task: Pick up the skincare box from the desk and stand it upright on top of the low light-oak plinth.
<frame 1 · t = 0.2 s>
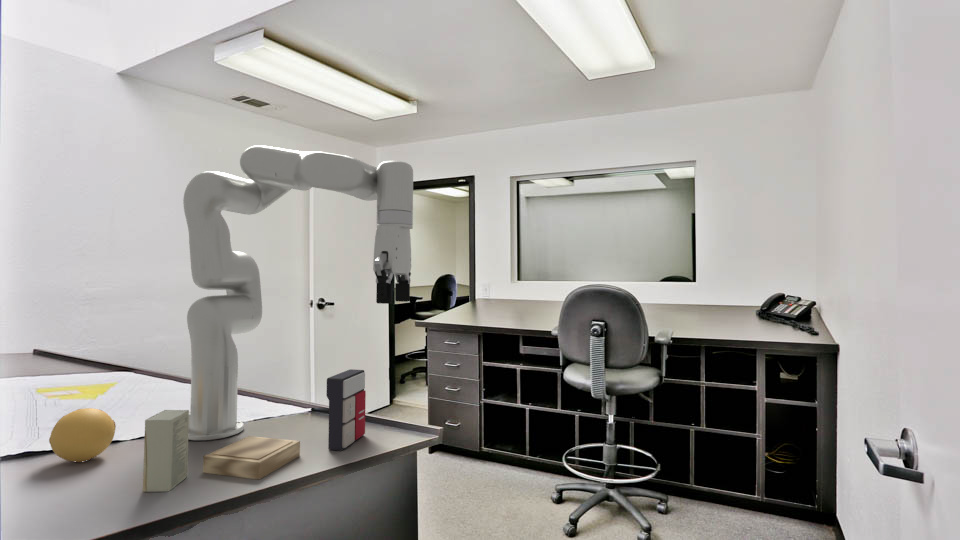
hand: (393, 302, 102), 31 cm above the table, tool pointing down, fingers open, 9 cm apart
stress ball: (83, 461, 95), on the table
skincare box: (166, 486, 84), on the table
oak plinth: (253, 463, 94), on the table
grey red panelled box: (347, 443, 107), on the table
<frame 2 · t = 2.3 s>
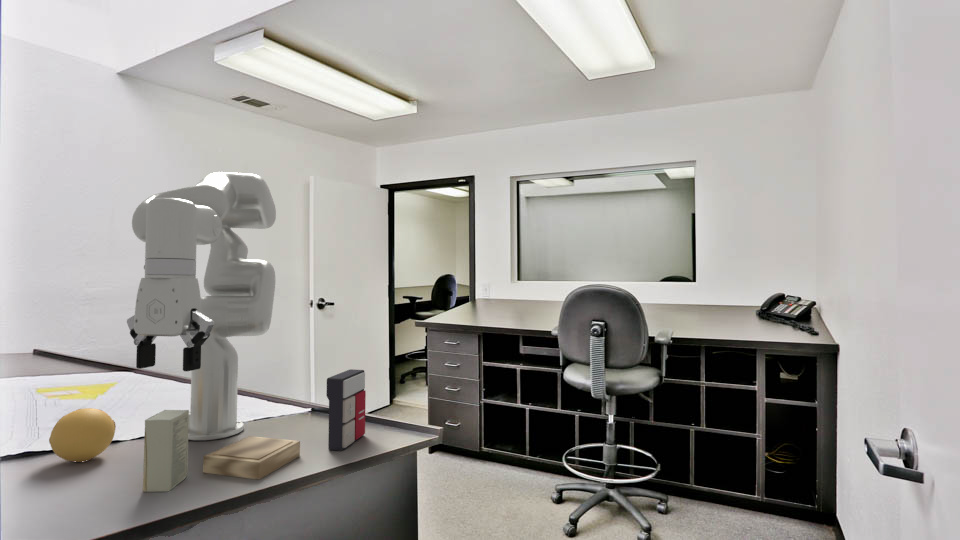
hand: (168, 368, 84), 20 cm above the table, tool pointing down, fingers open, 9 cm apart
nothing on the table moved.
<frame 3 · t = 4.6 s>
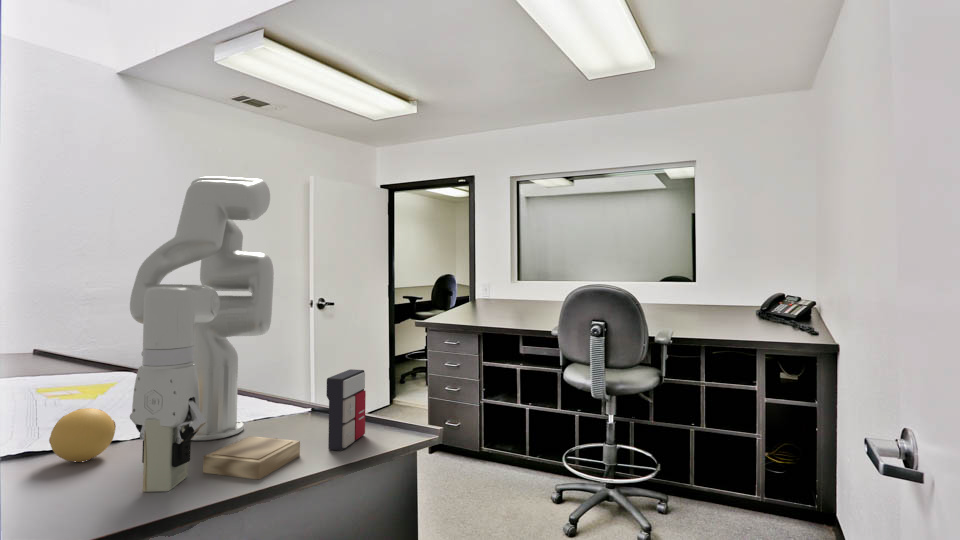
hand: (166, 461, 84), 4 cm above the table, tool pointing down, fingers closed on skincare box, 5 cm apart
skincare box: (165, 485, 84), on the table, touching gripper
everything else where it was.
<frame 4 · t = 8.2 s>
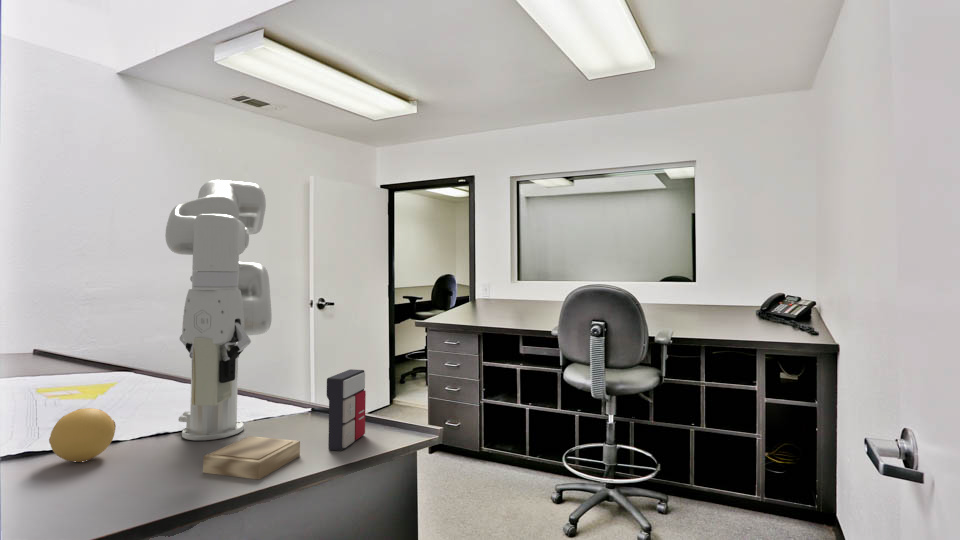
hand: (213, 379, 90), 17 cm above the table, tool pointing down, fingers closed on skincare box, 5 cm apart
skincare box: (212, 402, 89), point 13 cm above the table, touching gripper
everything else where it was.
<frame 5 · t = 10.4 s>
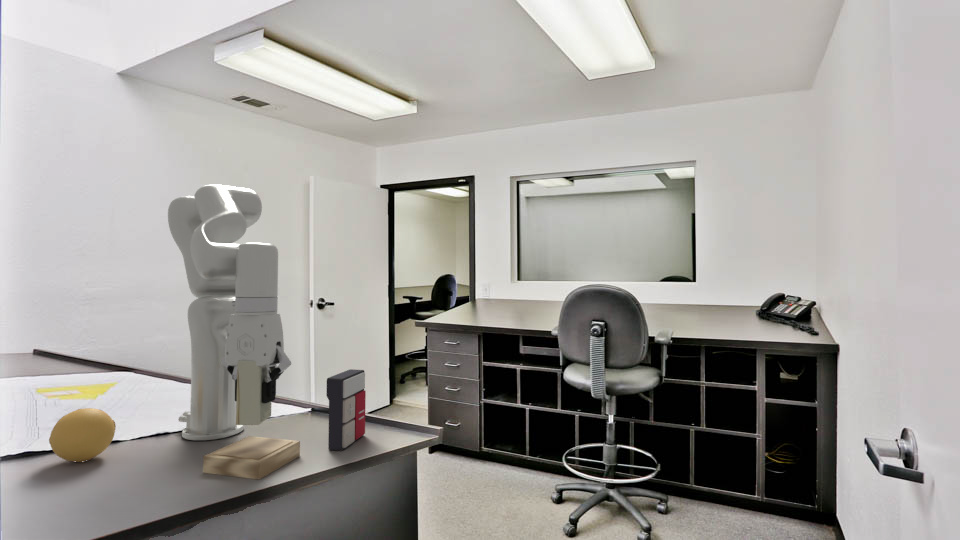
hand: (255, 399, 94), 12 cm above the table, tool pointing down, fingers closed on skincare box, 5 cm apart
skincare box: (254, 422, 94), point 8 cm above the table, touching gripper
everything else where it was.
when the fingers open (8 cm above the table, at t = 12.0 s): skincare box stays where it is, resting on oak plinth.
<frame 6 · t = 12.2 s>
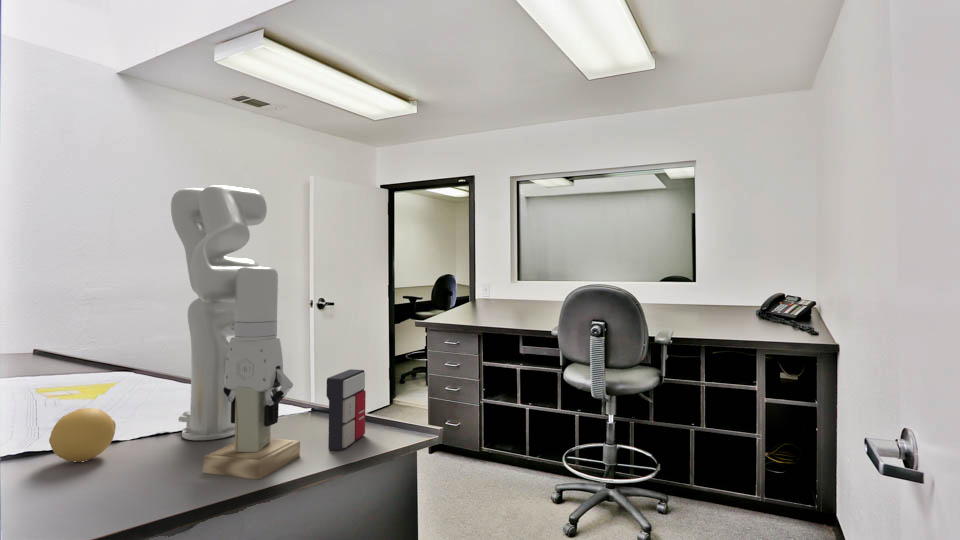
hand: (254, 422, 94), 8 cm above the table, tool pointing down, fingers open, 6 cm apart
skincare box: (253, 448, 94), point 3 cm above the table, touching oak plinth
everything else where it was.
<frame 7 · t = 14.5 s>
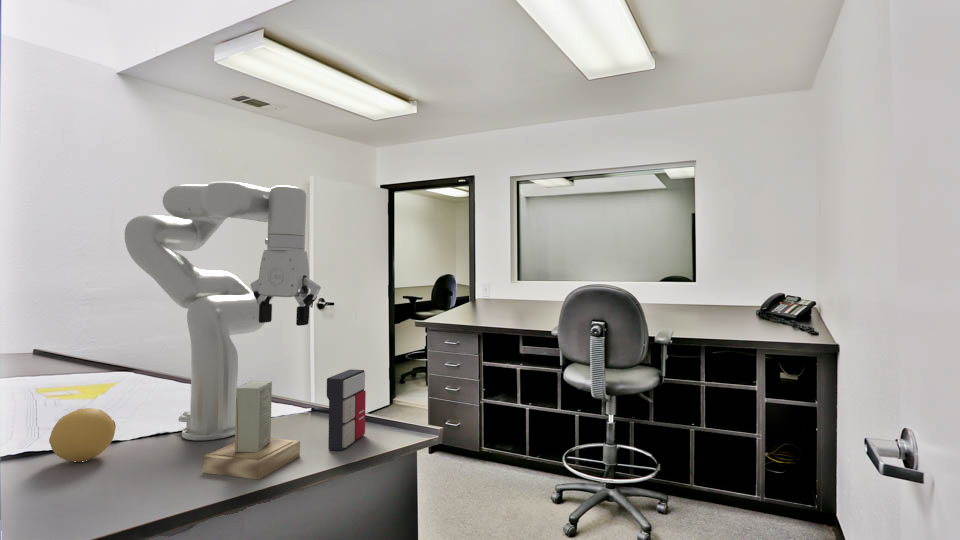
hand: (283, 323, 105), 26 cm above the table, tool pointing down, fingers open, 9 cm apart
nothing on the table moved.
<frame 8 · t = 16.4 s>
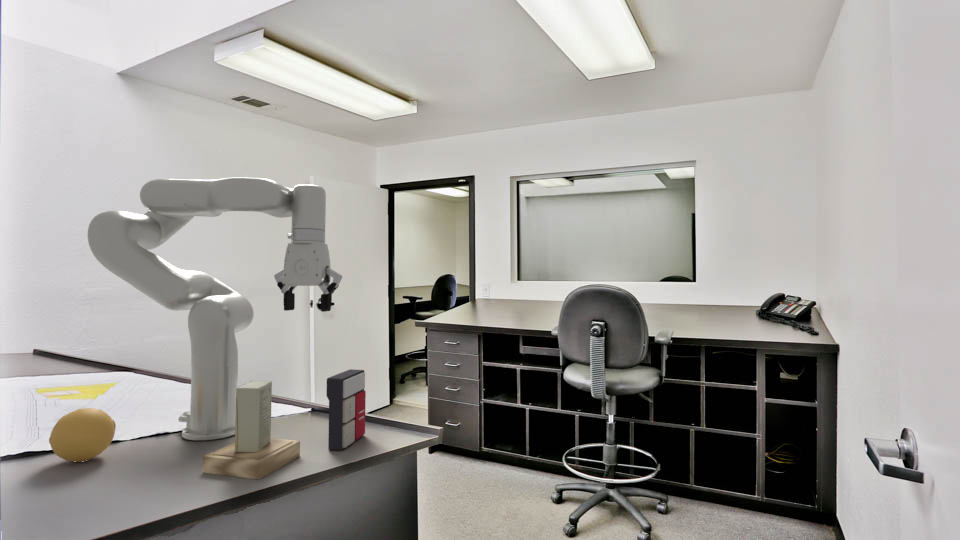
hand: (307, 310, 114), 28 cm above the table, tool pointing down, fingers open, 9 cm apart
nothing on the table moved.
at the end: skincare box inside the target area on the oak plinth (0.1 cm from its centre), point 3.0 cm above the oak plinth's base; skincare box tilted 0°; the gripper is holding nothing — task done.
